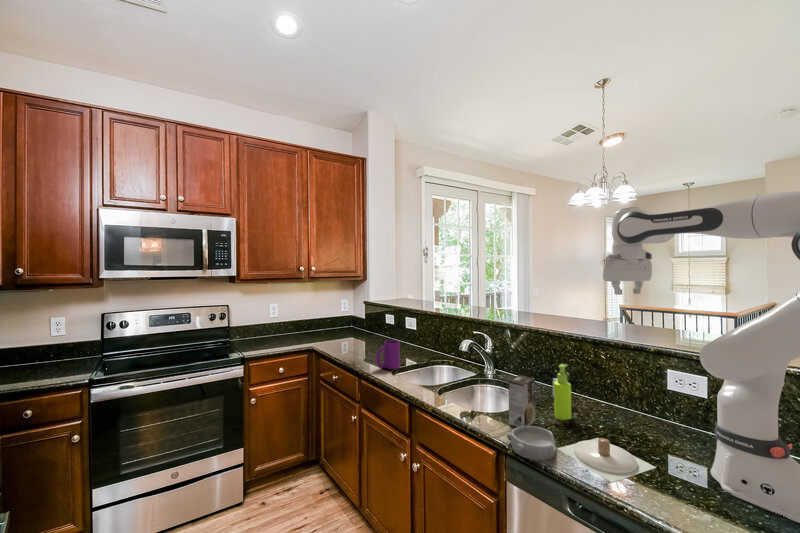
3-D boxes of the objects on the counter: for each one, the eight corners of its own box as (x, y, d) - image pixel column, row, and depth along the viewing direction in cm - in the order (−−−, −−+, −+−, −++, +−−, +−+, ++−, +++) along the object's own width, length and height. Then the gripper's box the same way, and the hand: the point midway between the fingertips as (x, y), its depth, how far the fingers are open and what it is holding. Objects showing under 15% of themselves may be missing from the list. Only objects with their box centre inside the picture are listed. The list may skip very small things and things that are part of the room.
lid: (650, 466, 94) (650, 448, 94) (610, 479, 88) (610, 460, 88) (598, 439, 109) (598, 424, 109) (561, 449, 103) (561, 433, 103)
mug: (403, 367, 194) (402, 341, 194) (381, 372, 184) (381, 345, 184) (393, 364, 201) (393, 339, 201) (372, 369, 191) (372, 343, 191)
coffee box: (519, 416, 128) (519, 374, 128) (536, 421, 124) (535, 378, 124) (508, 424, 122) (507, 380, 122) (525, 430, 117) (524, 384, 117)
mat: (656, 469, 94) (656, 467, 94) (611, 484, 87) (611, 482, 87) (598, 439, 110) (598, 437, 110) (557, 450, 104) (556, 448, 104)
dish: (549, 440, 110) (549, 425, 110) (564, 465, 96) (564, 448, 96) (504, 438, 112) (504, 423, 112) (512, 461, 98) (512, 444, 98)
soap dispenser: (574, 416, 128) (573, 364, 128) (568, 422, 123) (568, 368, 123) (558, 412, 132) (557, 361, 132) (552, 417, 127) (551, 365, 127)
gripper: (615, 254, 110) (615, 295, 109) (655, 254, 117) (656, 293, 117) (597, 254, 115) (598, 294, 115) (637, 255, 123) (637, 292, 123)
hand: (627, 294), depth 116 cm, fingers open, 8 cm apart
